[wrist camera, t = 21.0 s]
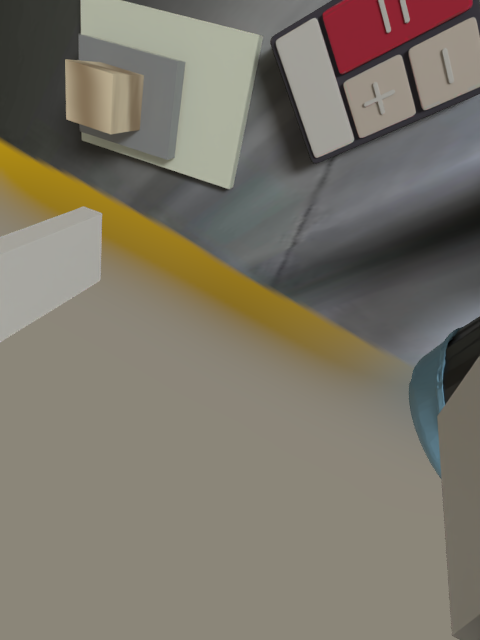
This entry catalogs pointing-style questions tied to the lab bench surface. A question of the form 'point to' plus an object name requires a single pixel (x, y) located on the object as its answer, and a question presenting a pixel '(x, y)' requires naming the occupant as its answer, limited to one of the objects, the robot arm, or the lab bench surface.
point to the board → (188, 82)
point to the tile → (157, 94)
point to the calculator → (376, 67)
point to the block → (103, 96)
